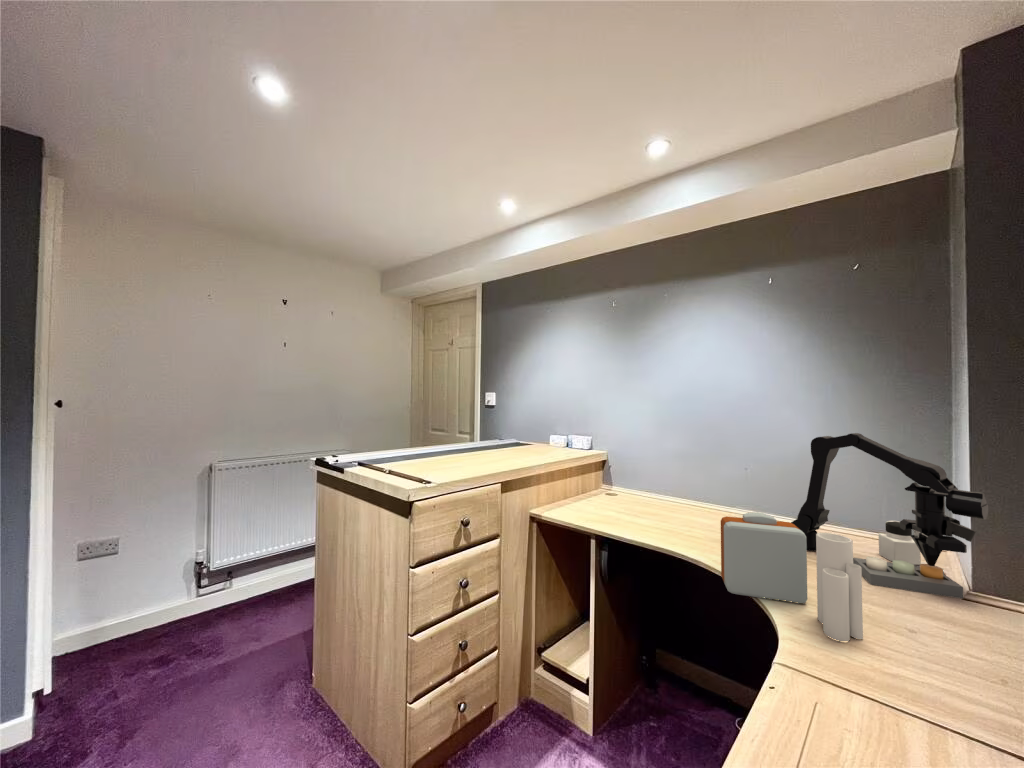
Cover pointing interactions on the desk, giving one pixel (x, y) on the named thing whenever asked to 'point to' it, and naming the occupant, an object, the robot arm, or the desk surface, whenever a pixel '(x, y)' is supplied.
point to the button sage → (903, 567)
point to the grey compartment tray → (910, 581)
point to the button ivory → (876, 564)
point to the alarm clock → (764, 557)
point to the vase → (838, 587)
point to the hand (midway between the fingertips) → (931, 565)
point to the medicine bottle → (898, 544)
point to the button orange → (931, 571)
